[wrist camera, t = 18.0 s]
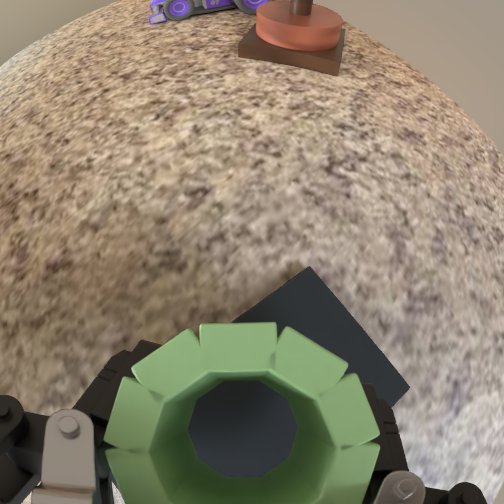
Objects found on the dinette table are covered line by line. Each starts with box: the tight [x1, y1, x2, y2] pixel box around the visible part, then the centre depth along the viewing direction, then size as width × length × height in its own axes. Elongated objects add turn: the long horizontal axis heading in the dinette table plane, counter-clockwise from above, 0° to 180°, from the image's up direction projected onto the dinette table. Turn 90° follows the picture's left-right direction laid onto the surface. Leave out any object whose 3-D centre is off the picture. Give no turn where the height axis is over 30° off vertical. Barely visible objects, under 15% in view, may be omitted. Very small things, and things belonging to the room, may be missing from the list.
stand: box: [238, 0, 345, 76], centre depth 21 cm, size 9×9×10 cm
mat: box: [110, 266, 410, 491], centre depth 12 cm, size 14×8×1 cm, turn 127°
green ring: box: [104, 322, 380, 504], centre depth 8 cm, size 6×6×5 cm
